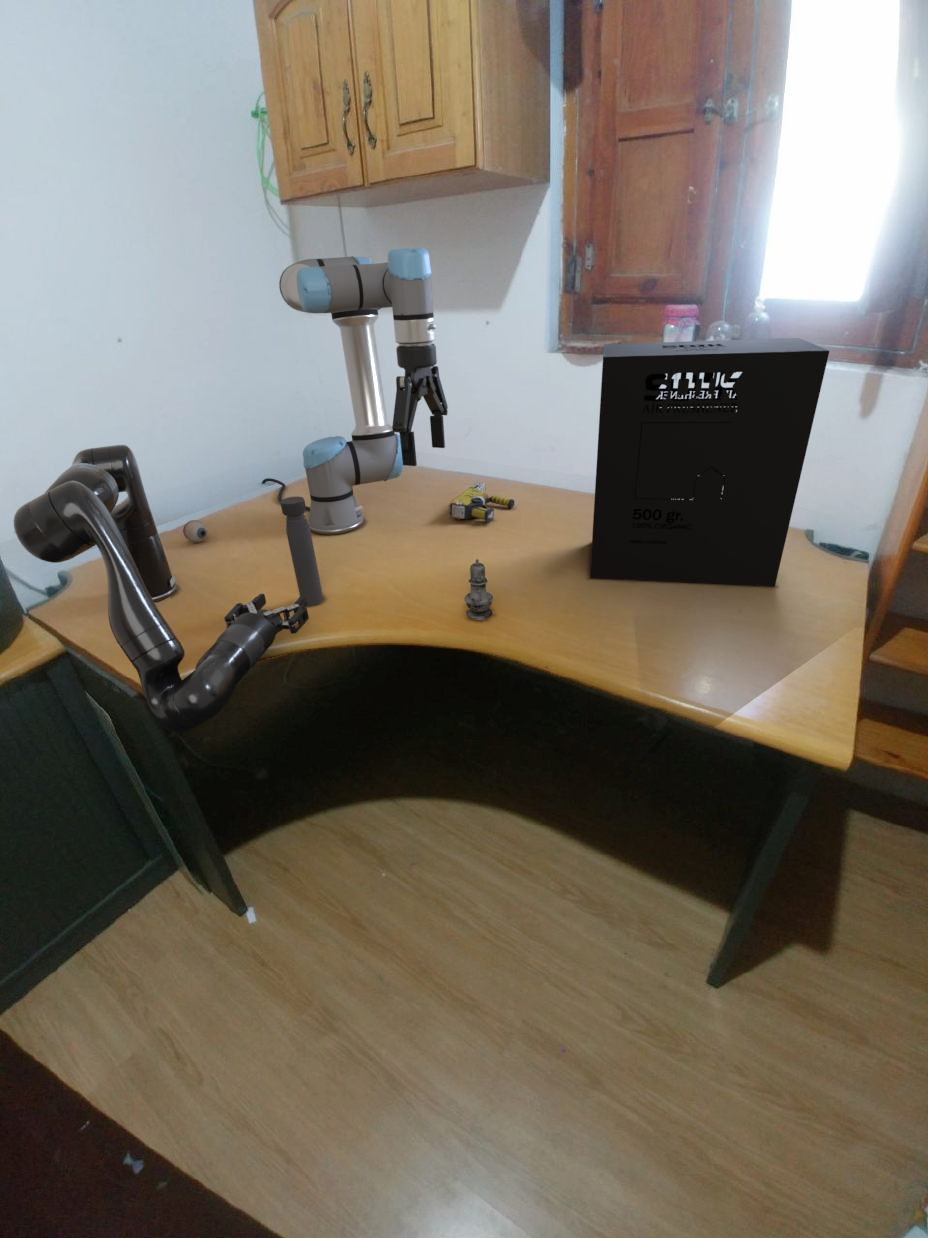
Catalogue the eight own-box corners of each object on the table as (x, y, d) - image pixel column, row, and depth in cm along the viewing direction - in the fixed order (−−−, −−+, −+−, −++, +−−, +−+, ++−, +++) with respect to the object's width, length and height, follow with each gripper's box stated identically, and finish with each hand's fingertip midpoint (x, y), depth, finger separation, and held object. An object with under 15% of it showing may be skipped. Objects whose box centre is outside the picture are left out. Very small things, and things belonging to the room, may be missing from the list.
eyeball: (196, 547, 160) (190, 526, 157) (181, 543, 163) (175, 522, 160) (215, 539, 164) (209, 518, 161) (200, 536, 167) (194, 515, 164)
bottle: (327, 601, 130) (308, 502, 119) (306, 608, 128) (285, 507, 116) (317, 593, 133) (298, 496, 122) (297, 600, 131) (276, 502, 120)
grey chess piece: (491, 621, 118) (489, 566, 112) (462, 620, 120) (458, 565, 114) (496, 607, 123) (494, 553, 117) (468, 605, 124) (465, 552, 118)
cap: (310, 512, 120) (307, 500, 119) (288, 517, 118) (285, 505, 116) (300, 506, 123) (298, 494, 122) (279, 512, 121) (276, 500, 120)
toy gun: (522, 487, 180) (475, 480, 184) (500, 511, 160) (447, 502, 164) (521, 502, 182) (474, 495, 186) (499, 527, 162) (447, 519, 166)
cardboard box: (755, 547, 142) (798, 337, 120) (774, 586, 125) (829, 350, 102) (592, 542, 150) (603, 344, 127) (589, 578, 133) (603, 356, 110)
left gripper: (277, 627, 101) (314, 582, 114) (200, 623, 103) (245, 580, 117) (286, 664, 105) (321, 616, 118) (211, 659, 107) (254, 613, 121)
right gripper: (402, 352, 103) (413, 475, 113) (459, 335, 122) (464, 441, 133) (364, 352, 105) (379, 472, 116) (426, 336, 125) (434, 439, 136)
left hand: (283, 598), depth 118 cm, fingers open, 8 cm apart
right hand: (424, 456), depth 125 cm, fingers open, 13 cm apart
